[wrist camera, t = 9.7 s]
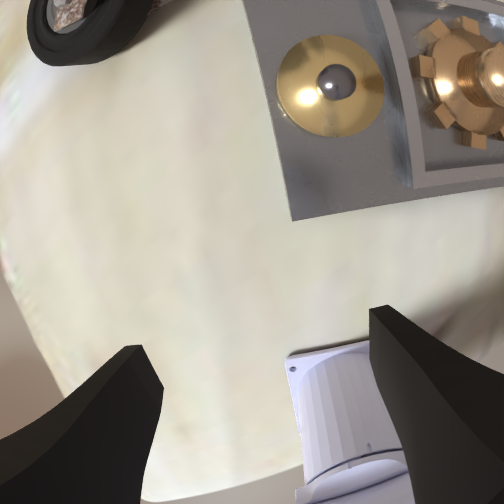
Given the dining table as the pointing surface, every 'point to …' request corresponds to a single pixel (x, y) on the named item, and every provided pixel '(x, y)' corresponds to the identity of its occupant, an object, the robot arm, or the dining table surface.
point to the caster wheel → (84, 28)
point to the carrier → (364, 102)
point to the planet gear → (463, 80)
